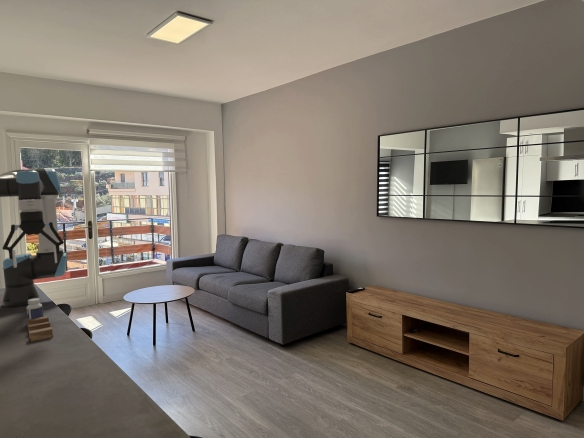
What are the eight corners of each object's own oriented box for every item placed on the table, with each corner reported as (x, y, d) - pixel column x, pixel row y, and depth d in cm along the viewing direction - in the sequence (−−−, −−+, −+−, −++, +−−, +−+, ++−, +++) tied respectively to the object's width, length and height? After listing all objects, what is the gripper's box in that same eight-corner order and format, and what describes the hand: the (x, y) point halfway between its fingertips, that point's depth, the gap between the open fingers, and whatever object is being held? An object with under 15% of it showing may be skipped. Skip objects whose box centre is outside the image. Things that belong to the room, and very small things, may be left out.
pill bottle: (46, 320, 167) (44, 297, 167) (37, 325, 162) (35, 301, 161) (34, 320, 168) (32, 297, 167) (24, 325, 163) (22, 301, 162)
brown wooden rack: (28, 327, 160) (27, 319, 160) (48, 323, 164) (47, 315, 164) (30, 341, 143) (29, 333, 143) (52, 337, 147) (52, 329, 147)
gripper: (-10, 213, 148) (-5, 270, 150) (67, 209, 160) (72, 261, 162) (-7, 212, 155) (-2, 267, 156) (67, 208, 167) (71, 259, 169)
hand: (36, 264), depth 159 cm, fingers open, 13 cm apart
